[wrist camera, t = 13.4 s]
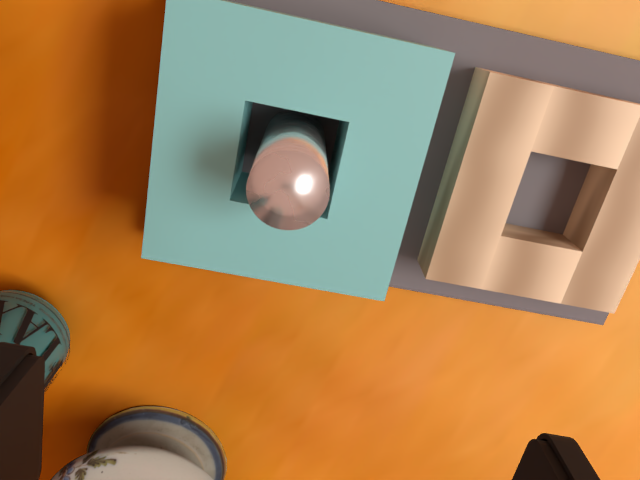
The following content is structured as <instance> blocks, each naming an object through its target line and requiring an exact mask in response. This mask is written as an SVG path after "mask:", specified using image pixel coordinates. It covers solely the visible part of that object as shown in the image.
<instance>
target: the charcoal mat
mask: <svg viewBox="0 0 640 480" xmlns="http://www.w3.org/2000/svg"><path fill="white" fill-rule="evenodd" d="M228 1H232V2H237V3H241V4H246V5H250V6H255V7H259V8H263V9H268V10H272V11H277V12H281V13H286V14H290V15H295V16H299V17H303V18H308V19H312V20H317V21H321V22H326V23H330V24H335V25H339V26H344V27H348V28H352V29H357V30H361V31H366V32H370V33H375V34H379V35H384V36H388V37H392V38H397V39H401V40H406V41H410V42H415V43H419V44H424V45H428V46H432V47H436V48H439V49H443V50H446V51H450V52H454V53H455V56H454V60H453V63H452V67H451V70H450V74H449V77H448V81H447V84H446V88H445V91H444V95H443V98H442V102H441V105H440V109H439V112H438V116H437V119H436V123H435V126H434V130H433V133H432V137H431V140H430V144H429V147H428V151H427V154H426V158H425V161H424V165H423V168H422V172H421V175H420V178H419V182H418V185H417V189H416V192H415V196H414V199H413V203H412V206H411V210H410V213H409V217H408V220H407V224H406V227H405V231H404V234H403V238H402V241H401V245H400V248H399V252H398V255H397V259H396V262H395V266H394V269H393V273H392V276H391V280H390V283H389V286H390V287H395V288H401V289H407V290H412V291H418V292H423V293H429V294H434V295H440V296H445V297H451V298H456V299H462V300H467V301H473V302H478V303H484V304H490V305H495V306H501V307H506V308H512V309H517V310H523V311H528V312H534V313H539V314H545V315H550V316H556V317H561V318H567V319H573V320H578V321H584V322H589V323H595V324H600V325H604V322H605V320H606V318H607V316H608V314H609V312H603V311H598V310H592V309H587V308H581V307H576V306H571V305H565V304H560V303H554V302H549V301H543V300H538V299H532V298H527V297H521V296H516V295H511V294H505V293H500V292H494V291H489V290H483V289H478V288H472V287H467V286H461V285H456V284H450V283H445V282H440V281H434V280H429V279H425V277H424V274H423V272H422V270H421V267H420V265H419V263H418V260H417V259H418V256H419V252H420V249H421V246H422V242H423V239H424V236H425V232H426V229H427V226H428V222H429V219H430V216H431V212H432V209H433V206H434V203H435V199H436V196H437V193H438V189H439V186H440V183H441V179H442V176H443V173H444V169H445V166H446V163H447V159H448V156H449V153H450V150H451V146H452V143H453V140H454V136H455V133H456V130H457V126H458V123H459V120H460V116H461V113H462V110H463V106H464V103H465V100H466V96H467V93H468V90H469V87H470V83H471V80H472V77H473V73H474V70H475V67H478V68H482V69H487V70H491V71H496V72H500V73H505V74H509V75H514V76H518V77H523V78H527V79H532V80H536V81H541V82H545V83H550V84H554V85H559V86H563V87H568V88H572V89H577V90H581V91H586V92H590V93H595V94H599V95H604V96H608V97H613V98H617V99H622V100H626V101H631V102H635V103H640V61H638V60H634V59H630V58H625V57H621V56H617V55H612V54H608V53H604V52H599V51H595V50H591V49H586V48H582V47H578V46H573V45H569V44H565V43H560V42H556V41H552V40H547V39H543V38H539V37H534V36H530V35H526V34H521V33H517V32H513V31H508V30H504V29H500V28H495V27H491V26H487V25H482V24H478V23H474V22H469V21H465V20H461V19H456V18H452V17H448V16H443V15H439V14H435V13H430V12H426V11H422V10H417V9H413V8H409V7H404V6H400V5H396V4H391V3H387V2H383V1H378V0H228ZM284 110H287V109H284V108H279V107H274V106H269V105H265V104H260V103H255V102H253V104H252V111H251V117H250V123H249V129H248V136H247V142H246V148H245V154H244V161H243V167H242V172H247V173H250V171H251V168H252V166H253V163H254V160H255V157H256V155H257V152H258V149H259V147H260V144H261V141H262V139H263V136H264V133H265V130H266V128H267V125H268V123H269V122H270V120H271V119H272V118H273V117H274V116H275V115H276V114H278V113H280V112H282V111H284ZM312 115H313V114H312ZM313 116H315V117H316V118H317V119H318V121H319V122H320V124H321V125H322V128H323V130H324V135H325V145H326V155H327V165H328V170H329V165H330V161H331V156H332V152H333V147H334V143H335V138H336V134H337V129H338V125H339V120H337V119H332V118H327V117H322V116H317V115H313ZM590 166H591V164H589V163H584V162H579V161H574V160H570V159H565V158H560V157H555V156H551V155H546V154H541V153H536V152H531V153H530V156H529V159H528V162H527V164H526V167H525V170H524V173H523V176H522V178H521V181H520V184H519V187H518V189H517V192H516V195H515V198H514V201H513V203H512V206H511V209H510V212H509V215H508V217H507V220H506V223H507V224H512V225H517V226H522V227H528V228H533V229H538V230H543V231H548V232H553V233H558V234H563V233H564V230H565V228H566V225H567V223H568V220H569V218H570V215H571V213H572V210H573V208H574V205H575V203H576V200H577V198H578V195H579V193H580V190H581V188H582V185H583V183H584V180H585V178H586V176H587V173H588V171H589V168H590Z"/></svg>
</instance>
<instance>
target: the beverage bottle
mask: <svg viewBox="0 0 640 480" xmlns="http://www.w3.org/2000/svg"><path fill="white" fill-rule="evenodd" d="M0 342H7V343H13V344H19V345H25V346H31V347H34V348H35V350H36V355H37V356H41V357H43V358H44V359H45V379H44V389H45V390H46V388H47V386H48V385H47V384H48V383H49V382H50V380H51V379H52V378H53V376H54V375H55V373H56V372H57V371H58V369H59V368H60V366H61V367H62V364H63V362H64V361H66V360H65V359H66V357H67V353H68V349H69V352H70V333H69V329H68V326H67V324H66V322H65V320H64V318H63V317H62V315H61V314H60V313H59V312H58V310H57V309H56V308H55V307H54V306H52V305H51V304H50V303H48V302H47V301H46V300H44V299H42V298H40V297H38V296H36V295H34V294H31V293H28V292H24V291H18V290H3V291H0ZM68 356H69V355H68ZM67 360H68V359H67ZM66 362H67V361H66ZM65 364H66V363H65ZM61 370H62V369H61ZM56 375H57V374H56ZM55 378H56V377H55ZM53 379H54V378H53ZM53 379H52V380H53ZM51 383H52V382H51ZM51 383H50V384H51ZM45 387H46V388H45ZM48 388H49V387H48ZM46 391H47V390H46ZM46 391H44V392H46Z"/></svg>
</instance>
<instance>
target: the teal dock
mask: <svg viewBox="0 0 640 480" xmlns="http://www.w3.org/2000/svg"><path fill="white" fill-rule="evenodd" d="M454 56H455V53H454V52H450V51H446V50H443V49H439V48H436V47H432V46H428V45H424V44H419V43H415V42H410V41H406V40H401V39H397V38H392V37H388V36H384V35H379V34H375V33H370V32H366V31H361V30H357V29H352V28H348V27H344V26H339V25H335V24H330V23H326V22H321V21H317V20H312V19H308V18H303V17H299V16H295V15H290V14H286V13H281V12H277V11H272V10H268V9H263V8H259V7H255V6H250V5H246V4H241V3H237V2H232V1H228V0H166V7H165V17H164V27H163V38H162V48H161V59H160V69H159V80H158V90H157V100H156V111H155V121H154V132H153V142H152V152H151V163H150V173H149V184H148V194H147V205H146V215H145V225H144V236H143V246H142V257H141V258H144V259H149V260H155V261H161V262H166V263H172V264H178V265H183V266H189V267H194V268H200V269H206V270H211V271H217V272H223V273H228V274H234V275H239V276H245V277H251V278H256V279H262V280H267V281H273V282H279V283H284V284H290V285H296V286H301V287H307V288H312V289H318V290H324V291H329V292H335V293H341V294H346V295H352V296H357V297H363V298H369V299H374V300H380V301H385V297H386V294H387V290H388V287H389V283H390V280H391V276H392V273H393V269H394V266H395V262H396V259H397V255H398V252H399V248H400V245H401V241H402V238H403V234H404V231H405V227H406V224H407V220H408V217H409V213H410V210H411V206H412V203H413V199H414V196H415V192H416V189H417V185H418V182H419V178H420V175H421V172H422V168H423V165H424V161H425V158H426V154H427V151H428V147H429V144H430V140H431V137H432V133H433V130H434V126H435V123H436V119H437V116H438V112H439V109H440V105H441V102H442V98H443V95H444V91H445V88H446V84H447V81H448V77H449V74H450V70H451V67H452V63H453V60H454ZM253 102H255V103H260V104H265V105H269V106H274V107H279V108H284V109H289V110H293V111H298V112H303V113H308V114H313V115H317V116H322V117H327V118H332V119H337V120H339V125H338V129H337V134H336V138H335V143H334V147H333V152H332V156H331V161H330V165H329V170H328V175H329V185H330V196H329V201H328V204H327V207H326V209H325V211H324V212H323V214H322V215H321V216H320V217H319V218H318V219H317V220H316V221H315V222H313V223H312V224H310V225H309V226H307V227H304V228H301V229H297V230H280V229H276V228H273V227H271V226H269V225H267V224H265V223H264V222H262V221H261V220H260V219H259V218H258V217H257V216H256V215H255V214H254V212H253V211H252V209H251V207H250V205H249V203H248V200H247V195H246V184H247V179H248V176H249V174H250V173H247V172H242V167H243V161H244V154H245V148H246V142H247V136H248V129H249V123H250V117H251V111H252V104H253Z"/></svg>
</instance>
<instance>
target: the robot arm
mask: <svg viewBox="0 0 640 480" xmlns="http://www.w3.org/2000/svg"><path fill="white" fill-rule="evenodd" d="M44 379H45V359H44V358H43V357H41V356H37V355H36V350H35V348H34V347H31V346H25V345H19V344H13V343H7V342H0V480H39V477H40V473H41V462H42V434H43V407H44ZM512 480H600V479H599V477H598V475H597V474H596V472H595V471H594V469H593V467H592V466H591V464H590V463H589V461H588V459H587V458H586V456H585V455H584V453H583V451H582V450H581V448H580V447H579V445H578V443H577V442H576V441H575V440H574V439H572V438H570V437H565V436H559V435H553V434H547V433H542V434H540V435H539V436H538V437H537V439H532V440H531V441H529V443H528V445H527V447H526V449H525V452H524V454H523V456H522V458H521V461H520V463H519V465H518V467H517V470H516V472H515V474H514V476H513V479H512Z"/></svg>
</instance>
